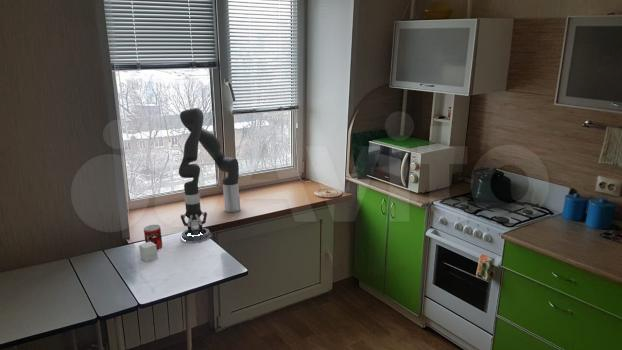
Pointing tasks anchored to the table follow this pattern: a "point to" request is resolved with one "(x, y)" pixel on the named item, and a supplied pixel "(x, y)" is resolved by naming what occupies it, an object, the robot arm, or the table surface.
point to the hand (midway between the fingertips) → (195, 231)
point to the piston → (195, 227)
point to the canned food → (153, 235)
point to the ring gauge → (200, 238)
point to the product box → (148, 251)
